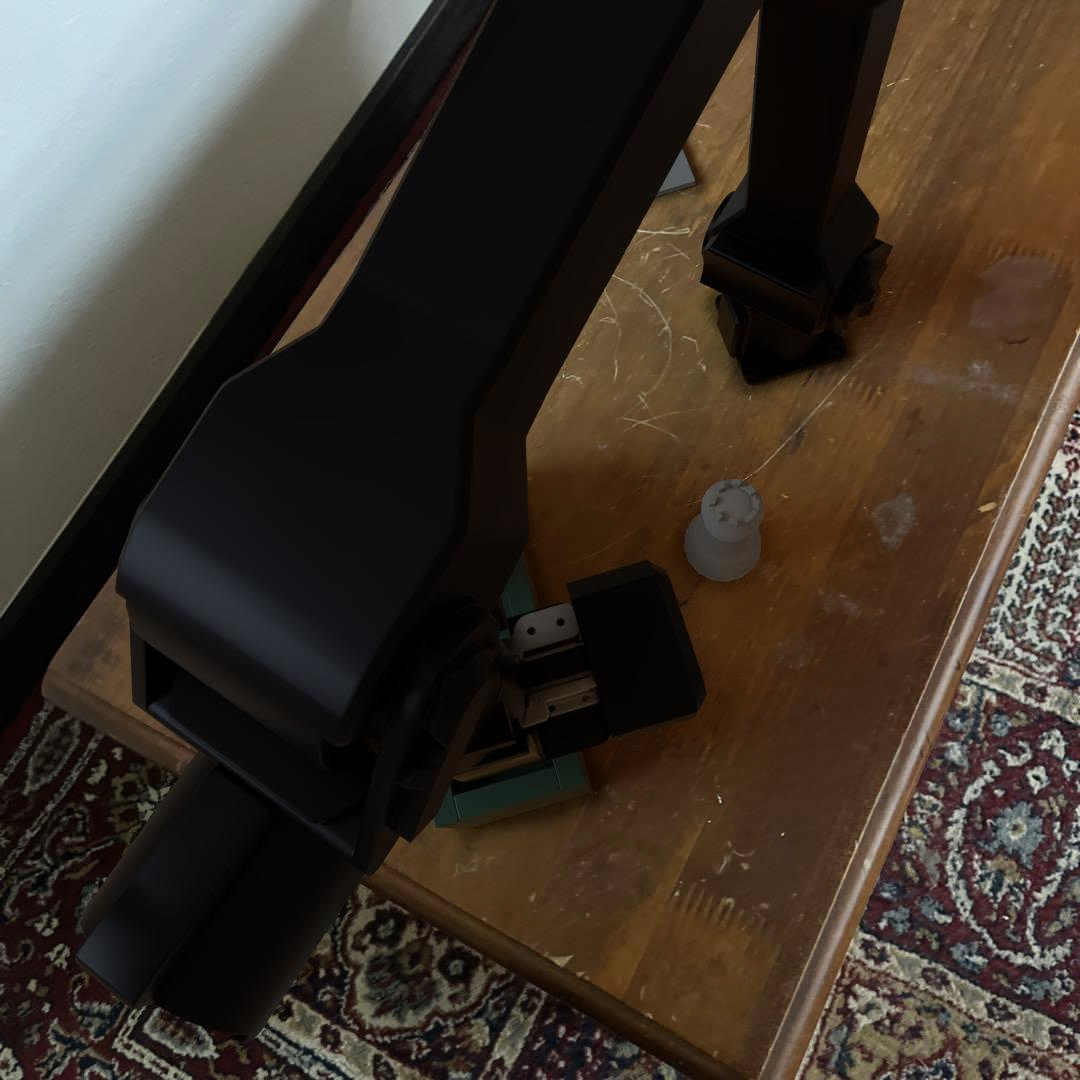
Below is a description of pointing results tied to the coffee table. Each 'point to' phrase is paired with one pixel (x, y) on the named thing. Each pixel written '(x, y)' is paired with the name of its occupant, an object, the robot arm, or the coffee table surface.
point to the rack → (522, 785)
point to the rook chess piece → (726, 531)
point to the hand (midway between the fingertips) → (487, 726)
